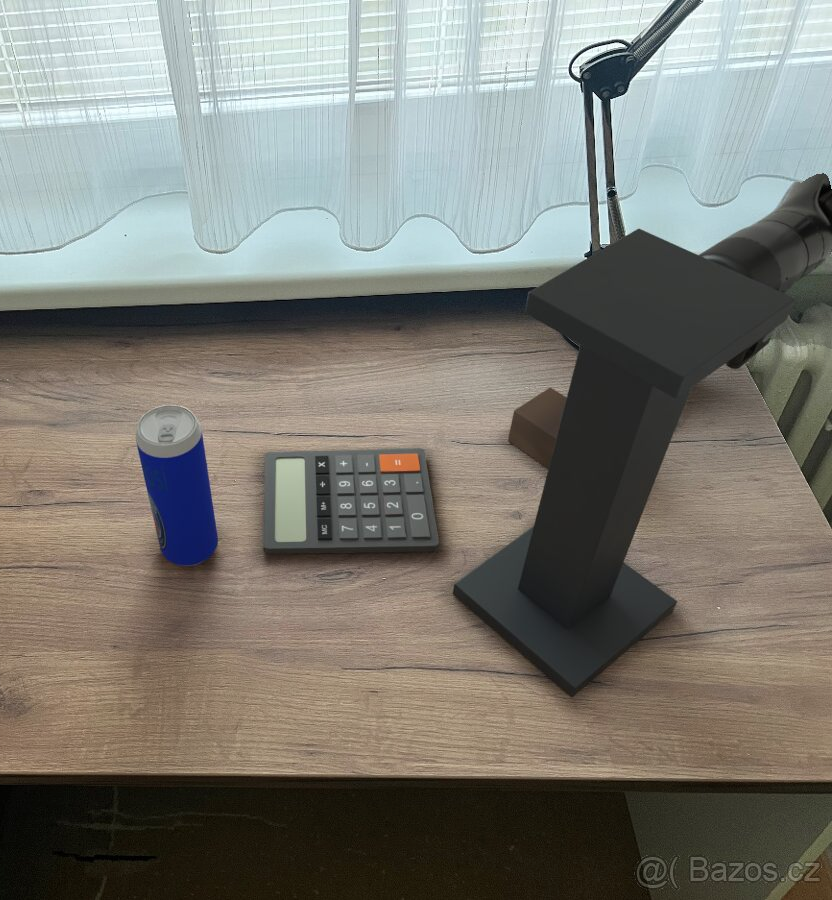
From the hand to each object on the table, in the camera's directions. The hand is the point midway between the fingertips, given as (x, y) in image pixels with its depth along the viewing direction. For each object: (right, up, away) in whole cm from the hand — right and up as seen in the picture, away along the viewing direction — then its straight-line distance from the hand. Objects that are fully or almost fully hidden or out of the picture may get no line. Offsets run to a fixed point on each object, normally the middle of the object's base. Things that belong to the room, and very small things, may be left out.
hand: (636, 343), depth 78 cm
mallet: (0, -6, +6) cm, 9 cm away
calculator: (-26, -14, +1) cm, 30 cm away
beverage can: (-40, -18, -1) cm, 44 cm away
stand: (-10, -22, -8) cm, 25 cm away
